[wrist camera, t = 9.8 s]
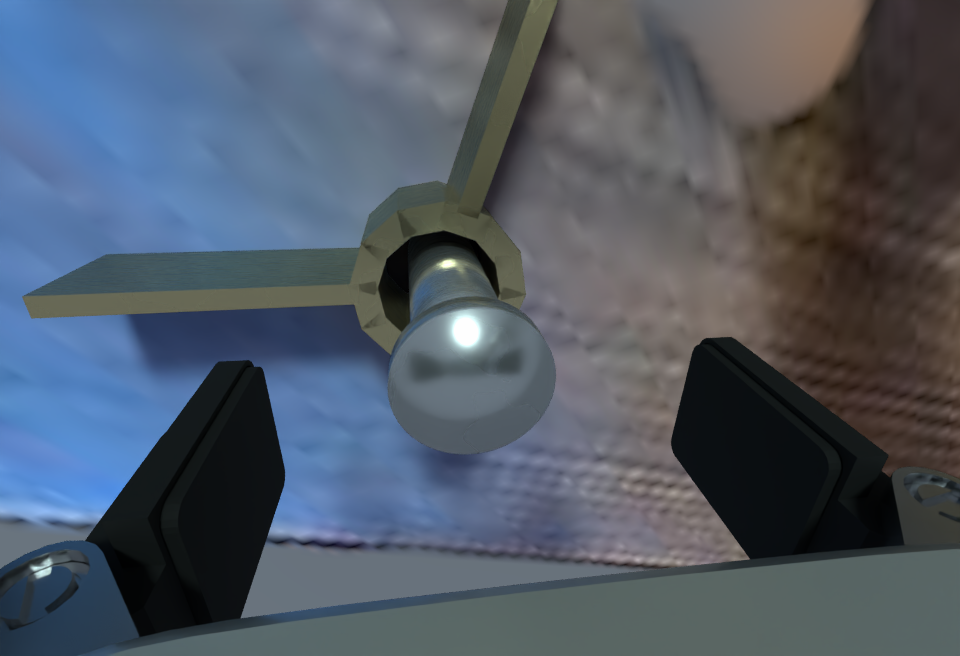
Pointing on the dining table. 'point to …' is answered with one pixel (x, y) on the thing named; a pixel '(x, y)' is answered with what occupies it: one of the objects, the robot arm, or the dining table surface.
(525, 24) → the brass hinge
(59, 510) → the dining table surface
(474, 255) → the hinge pin
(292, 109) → the dining table surface
